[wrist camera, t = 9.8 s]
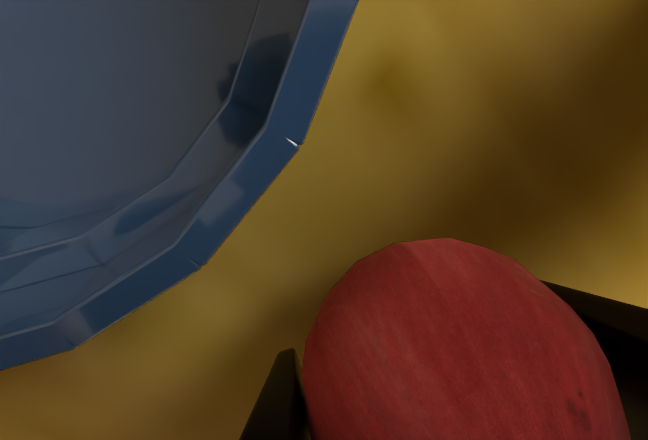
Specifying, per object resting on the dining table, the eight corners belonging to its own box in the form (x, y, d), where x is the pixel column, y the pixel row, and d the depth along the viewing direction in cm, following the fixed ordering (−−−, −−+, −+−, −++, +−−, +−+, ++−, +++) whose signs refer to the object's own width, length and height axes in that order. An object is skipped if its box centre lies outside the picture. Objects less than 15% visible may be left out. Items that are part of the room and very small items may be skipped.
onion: (502, 268, 11) (950, 602, 4) (382, 383, 12) (565, 828, 5) (382, 155, 9) (853, 408, 2) (250, 303, 10) (219, 862, 3)
